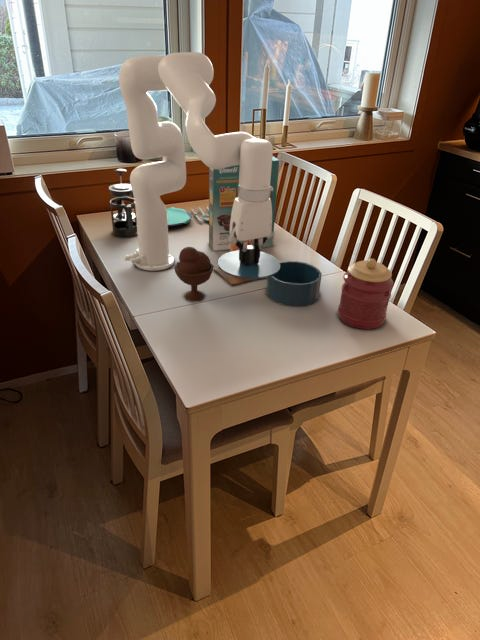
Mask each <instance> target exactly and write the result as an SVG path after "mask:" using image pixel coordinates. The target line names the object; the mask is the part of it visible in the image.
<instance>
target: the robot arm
mask: <svg viewBox="0 0 480 640" xmlns="http://www.w3.org/2000/svg"><path fill="white" fill-rule="evenodd" d="M214 71H215V70H214V67H213V64H212V62H211V60H210V58H209V57H208V56H207V55H206V54H204V53H202V52H199V51H189V52H187V51H186V52H185V51H183V52H181V51H180V52H171V53H168V54H165V55H141V56H134V57H131V58H128V59H126V60H125V61H124V62H122V64H121V66H120V68H119V73H118V83H119V89H120V93H121V95H122V100H123V102H124V105H125V110H126V117H127V118H126V119H127V125H128V133H129V141H130V146H131V147H130V148H131V150H132V155H134V157H136V158H137V159H139V160H152V159H158V158H162V160H161V161H154V162H149V163H144V164H139V165H138V166H136V167H135V168H134V169H132V171H131V173H130V176H129V184H130V185H131V188H132V191H133V195H132V196H133V199H134V200H135V208H136V219H137V232H138V234H137V243H138V244H137V246H138V248H136V249H135V252H133V253H131V254H124V255H123V259H124V261H125V262H129V261H130V263H131V264H134V265H135V267H137V268H138V269H140V270H144V271H149V272H150V271H151V272H154V271H155V272H156V271H157V272H158V271H163V270H166V269H169V268H171V267H172V266H173V265H174V264H175V258H174V256H173V255H171V254H170V248H169V246H170V245H169V226H168V218H167V209H166V208H167V205H166V204H165V203H164V202H163V200H162V199H161V196H163V195H166V194H170V193H174V192H178V191H180V190H182V189H183V188H184V187H185V185H186V183H187V163H186V152H185V151H186V150H185V142H184V136H183V133H182V130H181V129H180V128H179V126H178V125H177V124H176V123H174V122H172V121H159V114H158V107H157V104H156V102H155V101H154V99H153V97H152V96H151V95H150V94H149V93H150V92H165V91H168V92H169V93H170V94H171V96H172V97H173V98H174V100H175V102H176V103H177V105H178V106H179V107H180V108H181V110H182V111H183V112H184V113H185V115H186V119H185V130H186V136H187V140H188V144H189V145H190V147H191V149H192V150H193V152H194V153H195V154H196V156H197V157H198V158H199V160H200V161H201V162H202V163H203V164H204V165H205V166H206V167H208V168H212V169H222V168H226V167H230V166H237V165H240V169H239V189H238V198H235V200H234V204H233V208H232V213H231V220H230V236H229V238H228V242H229V243H230V244H232V245H236V246H237V247H238V248H239V249H240V250H239V260H240V262H241V263H242V264H243V265H245V266H247V265H248V256H249V252H248V251H247V245H248V240H252V239H253V244H254V245H253V246H255V259H254V262H255V263H259V258H260V252H261V250H262V249H263V248H264V247H263V244H264V243H265V242H266V241H267V239H269V238H271V237H272V236H273V237H274V234H273V232H272V205H271V199H270V198H269V196H270V192H273V187H272V186H271V187H270V180H271V168H272V156H274V155H273V154H274V146H273V144H272V142H270V141H269V140H267V139H263V138H256V137H255V136H253V135H252V134H250V133H248V132H245V131H235V132H228V133H222V134H221V133H220V134H216V135H215V134H214V133H213V132H212V131H211V130H210V128H209V127H208V126H207V124H206V123H205V121H204V119H205V118H207V117H208V116H209V115H210V114H211V112H212V111H213V110H214V108H215V106H216V102H217V98H216V97H217V96H216V94H215V93H214V90H212V88H211V87H210V85H211V83H213V80H214V73H215V72H214ZM236 237H237V240H236Z"/></svg>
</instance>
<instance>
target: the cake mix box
mask: <svg viewBox="0 0 480 640" xmlns="http://www.w3.org/2000/svg"><path fill="white" fill-rule="evenodd" d="M208 168H209V167H208ZM239 169H240V165H237V166H230V167H226V168H222V169H212V168H209V169H208V170H209V172H208V173H209V174H208V175H209V177H208V178H209V179H208V181H209V183H208V186H209V187H208V202H209V203H208V208H209V211H208V216H209V221H208V245H209V247H210V249H211V250H212V251H213V252H215V251H227V250H230V243H229V242H228V238H229V236H230V220H231V213H232V208H233V204H234V200H235V198H238V189H239ZM279 169H280V160H279V159H278V158H277V157H276V156H274V155H273V156H272V168H271V180H270V187H271V186H272V187H273V192H270V196H269V198H270V199H271V205H272V232H273V236H272V237H271V238H269V239H267V241H266V242H265V243H264V244H263V248H265V247H273V246H274V234H275V233H274V232H275V220H276V210H277V209H276V206H277V196H278V181H279ZM236 239H237V237H236ZM249 241H251V242H252V245H254V244H253V239H252V240H249Z"/></svg>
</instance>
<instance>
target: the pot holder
mask: <svg viewBox="0 0 480 640" xmlns="http://www.w3.org/2000/svg"><path fill="white" fill-rule="evenodd" d="M213 271H214V272H215V273H217V275H218V276H220V277H221V278H222V279H223V280H225V281H226V282H227V283H228V284H229V285H230V286H233V287H234V286H237V285H242V284H246V283H250V282H255V281H259V280H260V279H242V278H237V277H233V276H231V275H228V274H226V273H224V272H223V271H222V270H221V269H220V268H219V267H215V268H213ZM263 279H265V278H263ZM263 279H262V280H263Z"/></svg>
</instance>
